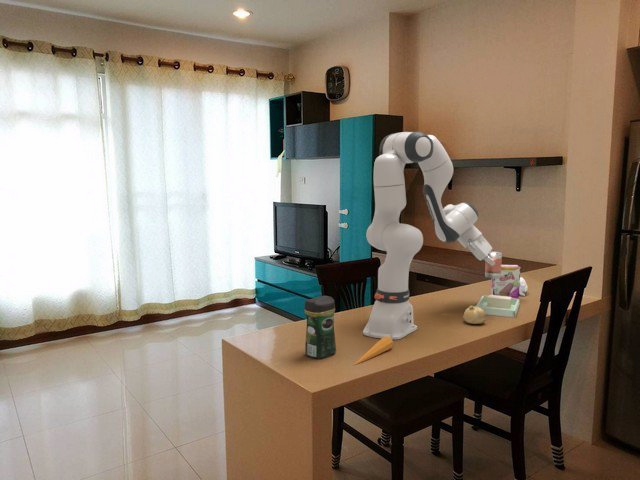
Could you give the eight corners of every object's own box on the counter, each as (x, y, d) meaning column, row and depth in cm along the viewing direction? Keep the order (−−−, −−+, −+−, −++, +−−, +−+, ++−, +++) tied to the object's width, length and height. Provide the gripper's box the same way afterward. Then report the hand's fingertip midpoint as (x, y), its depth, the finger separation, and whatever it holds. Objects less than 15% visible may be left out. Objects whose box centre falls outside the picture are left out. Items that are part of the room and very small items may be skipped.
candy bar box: (492, 303, 217) (494, 266, 215) (490, 300, 222) (491, 264, 220) (519, 303, 216) (521, 266, 214) (515, 300, 221) (517, 264, 219)
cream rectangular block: (509, 309, 205) (510, 299, 204) (487, 306, 209) (487, 297, 208) (511, 306, 209) (511, 296, 209) (488, 303, 213) (489, 294, 213)
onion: (466, 319, 194) (467, 301, 193) (487, 322, 190) (488, 304, 189) (461, 324, 188) (461, 306, 187) (482, 327, 184) (483, 309, 183)
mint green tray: (514, 319, 193) (515, 310, 192) (475, 315, 199) (475, 306, 199) (519, 306, 211) (519, 298, 210) (482, 303, 217) (482, 295, 217)
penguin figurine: (510, 276, 230) (518, 274, 239) (508, 294, 230) (517, 292, 240) (524, 278, 226) (532, 276, 235) (522, 296, 226) (531, 294, 236)
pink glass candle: (500, 278, 197) (501, 254, 196) (484, 277, 200) (484, 253, 198) (501, 276, 202) (502, 251, 201) (486, 274, 205) (486, 250, 204)
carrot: (386, 348, 165) (381, 335, 165) (397, 346, 162) (392, 333, 162) (351, 373, 150) (345, 359, 150) (362, 371, 147) (356, 357, 147)
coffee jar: (323, 347, 164) (323, 292, 162) (339, 353, 158) (339, 296, 156) (300, 354, 158) (299, 297, 155) (316, 361, 152) (316, 302, 149)
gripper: (472, 236, 192) (498, 262, 189) (480, 230, 210) (503, 254, 208) (460, 246, 195) (485, 273, 192) (469, 240, 213) (492, 264, 210)
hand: (495, 263), depth 200 cm, fingers closed on pink glass candle, 6 cm apart
